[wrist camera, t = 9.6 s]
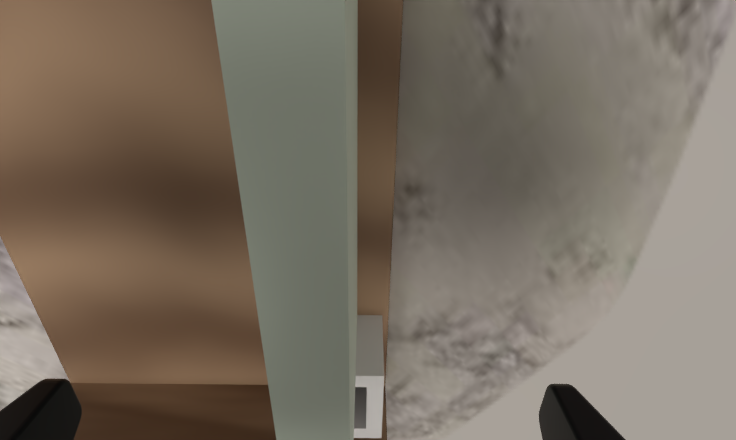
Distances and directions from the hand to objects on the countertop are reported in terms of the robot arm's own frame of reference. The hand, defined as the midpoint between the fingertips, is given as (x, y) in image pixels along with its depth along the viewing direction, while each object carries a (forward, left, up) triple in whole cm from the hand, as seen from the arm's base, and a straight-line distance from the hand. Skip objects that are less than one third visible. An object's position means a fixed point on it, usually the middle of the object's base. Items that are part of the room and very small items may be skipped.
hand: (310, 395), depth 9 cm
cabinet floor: (+1, +5, -10) cm, 11 cm away
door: (-1, 0, -8) cm, 8 cm away
